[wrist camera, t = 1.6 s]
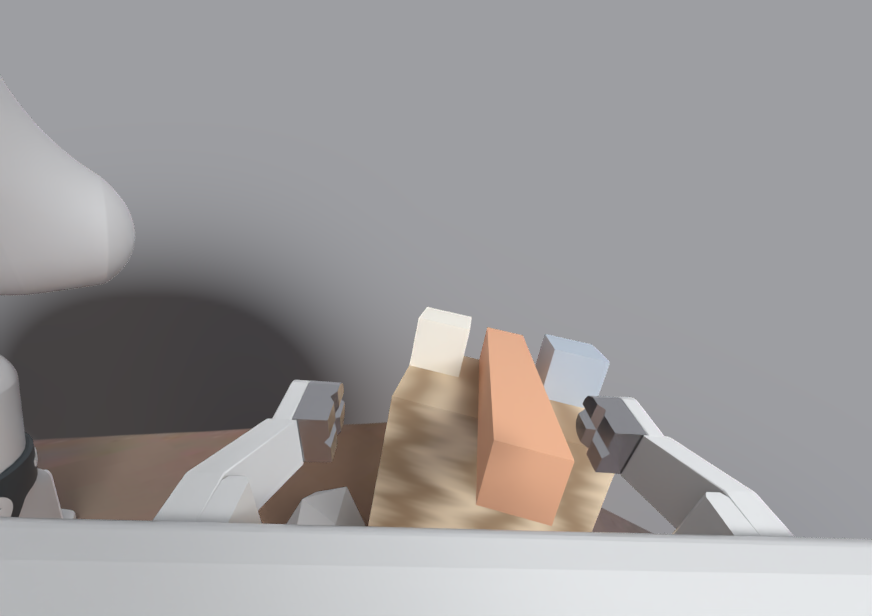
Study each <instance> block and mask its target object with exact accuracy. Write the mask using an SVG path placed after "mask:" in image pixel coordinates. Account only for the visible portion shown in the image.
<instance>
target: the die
mask: <svg viewBox="0 0 872 616" xmlns="http://www.w3.org/2000/svg"><path fill="white" fill-rule="evenodd" d="M287 524H295V525H334V526H365V524H364V522H363V519H362V517H361V515H360V513H359V511H358V509H357V507H356V505H355V503H354V501H353V499H352V496H351V494H350V492H349V490H348V488H347V487H342V488H336V489H330V490H325V491H319V492H315V493H313V494H311V495H309V496H307V497H305V498H303V499H302V500H301V502H300V504H299V505H298V507H297V508H296V510H295V511H294V513H293V514H292V516H291V518H290V519H289V521H288V522H287Z"/></svg>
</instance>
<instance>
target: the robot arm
mask: <svg viewBox="0 0 872 616" xmlns="http://www.w3.org/2000/svg"><path fill="white" fill-rule="evenodd" d="M134 244H135V228H134V223H133V219H132V217H131V214H130V212H129V210H128V208H127V206H126V204H125V203H124V201H123V200H122V198H121V197H120V196H119V194H118V193H117V192H116V191H115V190H114V189H113V188H112V187H111V186H110V185H109V184H108V183H107V182H106V181H105V180H104V179H103V178H101V177H100V176H99V175H98V174H96V173H94V172H93V171H91V170H90V169H88V168H87V167H85V166H84V165H82V164H81V163H79V162H78V161H77V160H76V159H74V158H73V157H72V156H70V155H69V154H68V153H66V152H65V151H64V150H63V149H62V148H61V147H59V146H58V145H57V144H56V143H55V142H54V141H53V140H51V138H49V136H47V135H46V133H45V132H44V131H42V129H41V128H40V127H38V125H37V124H36V123H35V122H34V121H33V120H32V118H31V117H30V116H29V115H28V114H27V113H26V111H25V110H24V109H23V108H22V106H21V105H20V104H19V103H18V101H17V100H16V99H15V97H14V96H13V94H12V93H11V92H10V90H9V88H8V87H7V85H6V84H5V82H4V80H3V79H2V77H1V75H0V295H30V294H38V293H46V292H53V291H61V290H68V289H74V288H81V287H88V286H94V285H100V284H105V283H106V282H108V281H109V280H111V279H112V278H114V276H116V275H117V274H118V273H119V272H120V271H121V270H122V269H123V268H124V266H125V265H126V264H127V262H128V261H129V259H130V256H131V254H132V252H133V248H134ZM343 393H344V389H343V384H342V383H336V382H323V381H305V380H294V381H293V382H292V383H291V384H290V386H289V388H288V390H287V392H286V394H285V396H284V398H283V400H282V401H281V403H280V405H279V407H278V409H277V411H276V413H275V414H274V416H273V418H272V419H266V420H264V421H263V422H261V423H260V424H258V425H257V426H255V427H254V428H252V429H251V430H249V431H248V432H246V433H245V434H243V435H242V436H240V437H239V438H237V439H236V440H234V441H233V442H231V443H230V444H228V445H227V446H225V447H224V448H222V449H221V450H219V451H218V452H216V453H215V454H213V455H212V456H210V457H209V458H207V459H206V460H204V461H203V462H201V463H200V464H198V465H197V466H195V467H194V468H192V469H191V470H189V471H188V472H186V474H185V475H184V477H183V478H182V479H181V481H180V482H179V484H178V485H177V487H176V488H175V489H174V491H173V492H172V494H171V495H170V497H169V498H168V499H167V501H166V502H165V504H164V505H163V506H162V508H161V509H160V511H159V512H158V514H157V515H156V516H155V518H154V519H153V521H140V520H101V519H77V518H76V514H75V512H74V511H73V510H69V509H61V507H60V503H59V499H58V495H57V492H56V488H55V484H54V480H53V477H52V474H51V473H50V471H48V470H42V469H39V468H37V461H38V455H37V451H36V448H35V446H34V444H33V440H32V438H31V437H30V435H29V434H27V433H26V432H25V431H24V423H23V414H22V407H21V397H20V389H19V380H18V374H17V371H16V370H15V368H14V367H13V365H12V364H11V363H10V362H9V361H8V360H6V358H4V357H3V356H1V355H0V616H872V539H846V538H806V537H795V536H794V535H793V534H792V533H791V532H790V531H789V530H788V529H787V527H786V526H785V525H784V524H783V523H782V522H781V521H780V520H779V519H778V517H777V516H776V515H775V514H774V513H773V512H772V511H771V509H770V508H769V507H768V506H767V505H766V504H765V503H764V502H763V501H762V499H761V498H760V497H759V496H758V495H757V494H756V493H755V492H754V491H752V490H751V489H749V488H748V487H746V486H744V485H743V484H741V483H740V482H738V481H737V480H735V479H734V478H732V477H730V476H729V475H727V474H725V473H724V472H723V471H721V470H720V469H718V468H717V467H715V466H714V465H712V464H710V463H709V462H707V461H706V460H704V459H703V458H701V457H700V456H698V455H697V454H695V453H693V452H692V451H690V450H689V449H687V448H686V447H684V446H683V445H681V444H680V443H678V442H677V441H675V440H673V439H672V438H670V437H667V436H666V437H665V436H664V435H663V434H662V433H661V431H660V430H659V429H658V427H657V426H656V425H655V424H654V422H653V421H652V420H651V418H650V417H649V416H648V414H647V413H646V412H645V410H644V409H643V408H642V407H641V405H640V404H639V403H638V401H637V400H636V399H634V398H633V397H609V396H608V397H607V396H587V397H586V398H585V399H584V402H583V406H584V408H585V409H584V410H583V411H581V412H580V413H578V416H577V419H576V432H577V436H578V438H579V440H580V442H581V443H582V444H584V445H585V446H586V447H587V448H588V449H587V452H586V455H587V457H588V459H589V461H590V463H591V465H592V467H593V469H594V471H595V472H600V473H616V474H621V476H622V477H623V478H624V479H625V480H626V481H627V482H628V483H629V484H630V485H631V486H632V487H634V489H636V490H637V491H638V492H639V493H640V494H641V495H642V496H643V497H644V498H645V499H646V500H647V501H648V502H649V503H650V504H651V505H652V506H653V507H654V508H655V509H656V510H657V511H659V513H660V514H661V515H662V516H664V518H666V519H667V520H668V521H669V522H670V523H671V524H672V525H673V526H674V527H675V528H676V530H675V531H674V532H673V533H672V534H650V533H610V532H569V531H529V530H489V529H451V528H412V527H373V526H334V525H295V524H262V523H261V520H260V516H259V513H258V510H259V509H260V508H261V507H262V506H263V505H264V504H265V503H266V502H267V501H268V500H269V499H270V498H271V497H272V496H273V495H274V494H275V493H276V492H277V490H278V489H279V488H280V487H281V486H282V485H283V484H284V483H285V482H286V481H287V480H288V479H289V478H290V477H291V476H292V475H293V474H294V473H295V472H296V471H297V470H298V469H299V468H300V467H301V466H302V465H303V462H332V461H333V457H334V454H335V451H336V447H337V444H338V443H337V435H338V434H339V433H340V432H341V430H342V426H343V421H344V413H345V403H344V401H343V400H342V396H343Z"/></svg>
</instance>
